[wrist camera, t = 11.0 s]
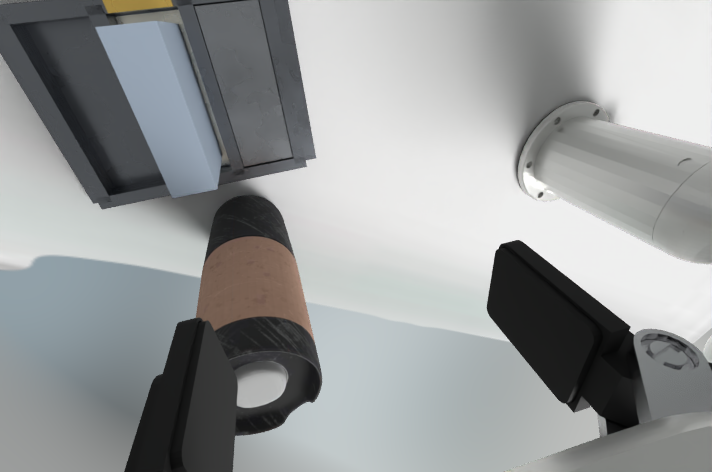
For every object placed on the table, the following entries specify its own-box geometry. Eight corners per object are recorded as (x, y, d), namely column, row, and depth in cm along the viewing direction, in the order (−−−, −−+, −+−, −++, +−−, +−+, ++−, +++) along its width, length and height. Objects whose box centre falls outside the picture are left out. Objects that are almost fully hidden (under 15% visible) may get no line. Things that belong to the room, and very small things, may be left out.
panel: (179, 23, 24) (156, 20, 18) (222, 154, 30) (217, 189, 23) (135, 28, 24) (95, 27, 17) (187, 161, 29) (172, 198, 23)
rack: (283, -20, 25) (287, -24, 23) (314, 156, 33) (320, 165, 31) (-20, 11, 22) (-50, 8, 19) (95, 200, 29) (84, 214, 27)
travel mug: (208, 190, 32) (175, 358, 15) (288, 194, 34) (333, 341, 18) (211, 256, 35) (186, 448, 19) (283, 255, 38) (316, 424, 22)
